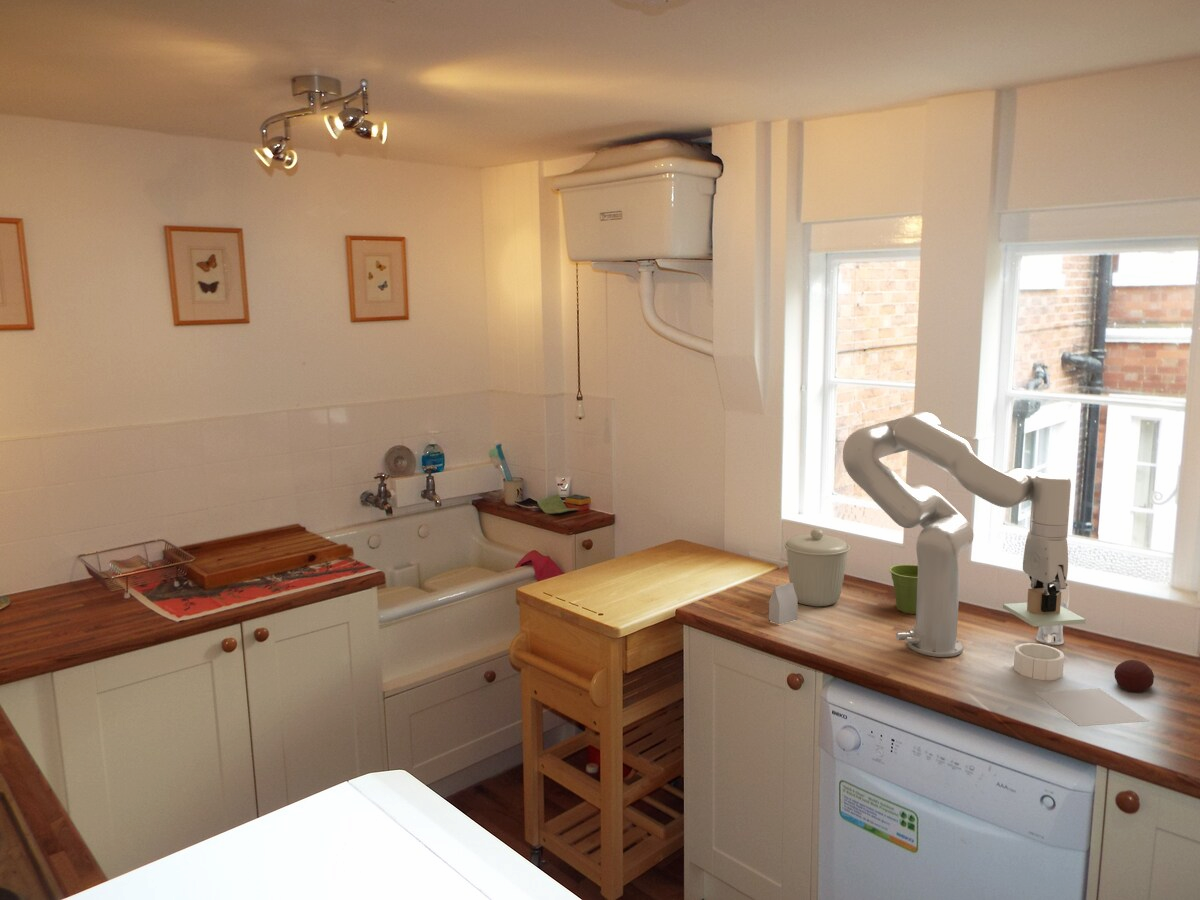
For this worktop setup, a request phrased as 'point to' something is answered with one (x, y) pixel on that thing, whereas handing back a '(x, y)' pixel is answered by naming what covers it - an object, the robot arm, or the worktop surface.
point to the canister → (816, 567)
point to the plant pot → (905, 587)
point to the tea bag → (783, 604)
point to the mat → (1090, 707)
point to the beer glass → (1055, 633)
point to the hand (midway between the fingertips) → (1043, 607)
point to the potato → (1134, 676)
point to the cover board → (1044, 617)
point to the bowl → (1038, 661)
